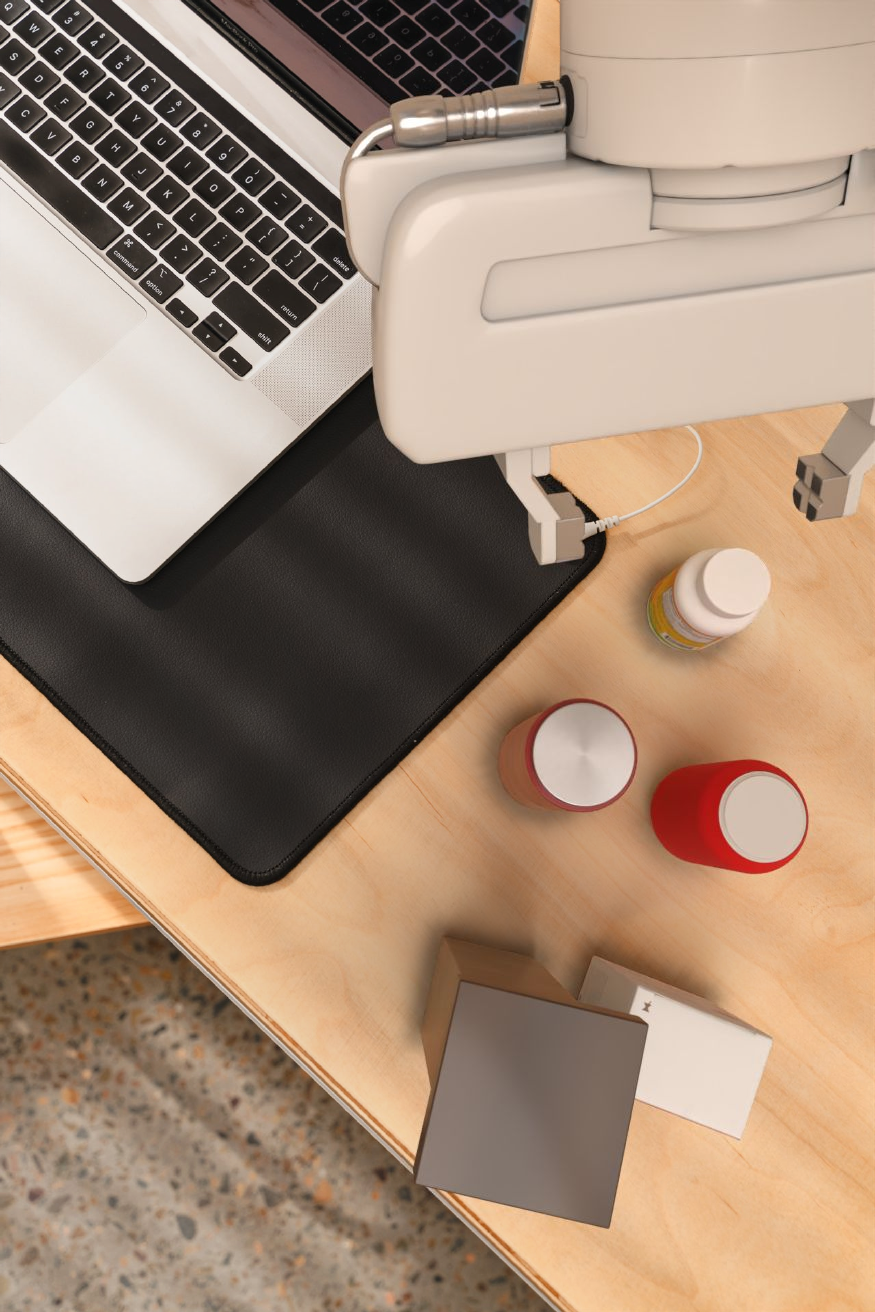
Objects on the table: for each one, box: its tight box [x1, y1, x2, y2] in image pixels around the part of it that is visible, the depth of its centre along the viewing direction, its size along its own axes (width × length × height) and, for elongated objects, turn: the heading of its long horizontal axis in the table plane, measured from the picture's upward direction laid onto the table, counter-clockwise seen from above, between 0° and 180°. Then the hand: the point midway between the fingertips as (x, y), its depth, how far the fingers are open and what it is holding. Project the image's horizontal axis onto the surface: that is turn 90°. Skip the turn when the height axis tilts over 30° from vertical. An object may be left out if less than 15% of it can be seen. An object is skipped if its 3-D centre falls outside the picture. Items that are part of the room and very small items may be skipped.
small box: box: [576, 955, 774, 1141], centre depth 56 cm, size 8×6×10 cm
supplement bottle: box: [646, 547, 772, 653], centre depth 60 cm, size 5×5×10 cm
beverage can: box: [649, 758, 810, 875], centre depth 57 cm, size 6×6×12 cm
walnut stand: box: [412, 935, 649, 1230], centre depth 50 cm, size 8×8×22 cm
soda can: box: [497, 697, 638, 813], centre depth 57 cm, size 6×6×13 cm
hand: (690, 532), depth 33 cm, fingers open, 8 cm apart
